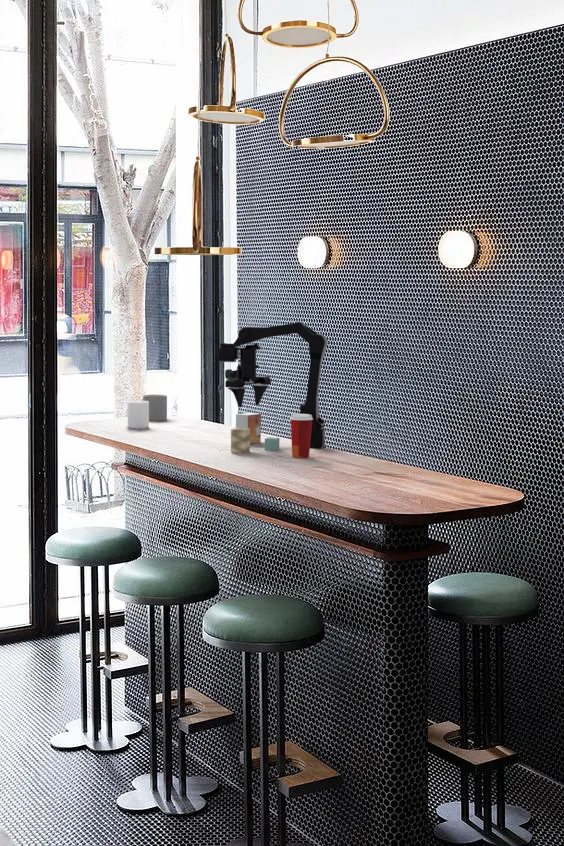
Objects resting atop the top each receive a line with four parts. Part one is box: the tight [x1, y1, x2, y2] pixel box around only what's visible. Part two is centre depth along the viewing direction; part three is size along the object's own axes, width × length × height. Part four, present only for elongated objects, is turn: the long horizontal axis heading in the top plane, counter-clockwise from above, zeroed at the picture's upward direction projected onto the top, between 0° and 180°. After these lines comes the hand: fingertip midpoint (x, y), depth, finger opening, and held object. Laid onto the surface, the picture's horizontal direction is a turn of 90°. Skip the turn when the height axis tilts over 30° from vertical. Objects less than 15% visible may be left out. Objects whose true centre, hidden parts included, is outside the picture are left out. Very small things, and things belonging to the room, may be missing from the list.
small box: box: [235, 412, 262, 445], centre depth 386 cm, size 8×6×10 cm
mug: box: [126, 400, 150, 430], centre depth 424 cm, size 12×8×10 cm
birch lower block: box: [230, 440, 251, 454], centre depth 364 cm, size 5×5×4 cm
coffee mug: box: [140, 394, 168, 422], centre depth 451 cm, size 13×10×10 cm
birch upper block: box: [230, 427, 250, 442], centre depth 364 cm, size 5×5×4 cm
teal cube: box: [264, 436, 280, 452], centre depth 371 cm, size 4×4×4 cm
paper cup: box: [289, 413, 313, 459], centre depth 355 cm, size 8×8×14 cm
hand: (248, 406), depth 382 cm, fingers open, 9 cm apart
